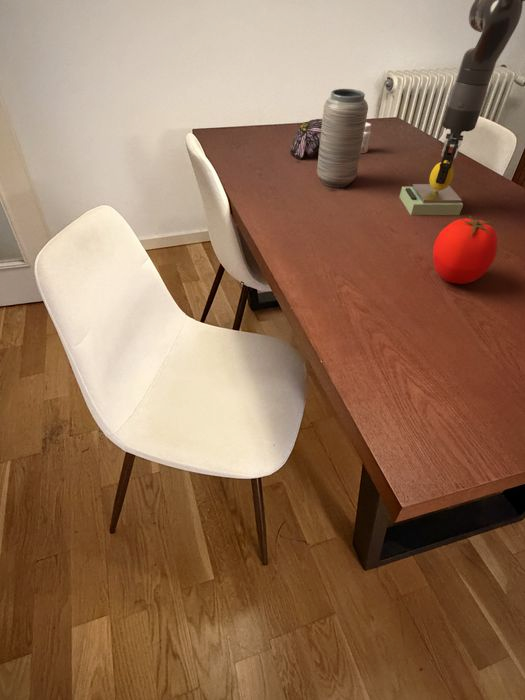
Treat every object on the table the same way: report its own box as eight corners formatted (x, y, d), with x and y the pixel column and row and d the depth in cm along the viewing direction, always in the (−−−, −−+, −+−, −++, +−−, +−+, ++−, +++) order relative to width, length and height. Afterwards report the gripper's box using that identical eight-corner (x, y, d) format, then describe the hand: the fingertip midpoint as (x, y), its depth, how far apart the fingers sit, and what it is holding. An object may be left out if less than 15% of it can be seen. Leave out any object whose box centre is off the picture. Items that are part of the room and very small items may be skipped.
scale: (444, 197, 113) (448, 184, 111) (459, 215, 106) (464, 202, 103) (399, 197, 113) (402, 184, 110) (410, 215, 105) (414, 202, 103)
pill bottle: (359, 147, 141) (364, 121, 135) (370, 151, 138) (375, 124, 133) (350, 150, 139) (354, 123, 133) (361, 154, 136) (366, 127, 130)
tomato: (491, 278, 85) (520, 220, 76) (464, 302, 79) (492, 243, 70) (441, 256, 91) (462, 200, 82) (412, 278, 85) (432, 219, 76)
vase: (312, 186, 117) (321, 96, 101) (320, 171, 125) (329, 85, 109) (351, 192, 115) (367, 100, 98) (357, 176, 123) (373, 89, 106)
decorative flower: (287, 115, 134) (331, 103, 129) (296, 146, 144) (337, 136, 138) (282, 141, 127) (329, 130, 122) (292, 172, 137) (336, 163, 131)
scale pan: (447, 186, 111) (448, 184, 110) (460, 203, 104) (462, 200, 103) (411, 186, 111) (412, 184, 110) (422, 203, 103) (423, 200, 103)
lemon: (426, 195, 105) (435, 163, 99) (425, 186, 109) (434, 155, 103) (448, 197, 104) (459, 165, 99) (446, 188, 108) (457, 157, 102)
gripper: (481, 115, 87) (453, 192, 98) (483, 99, 96) (458, 171, 108) (445, 110, 89) (422, 186, 100) (450, 95, 98) (429, 166, 110)
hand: (441, 178), depth 104 cm, fingers closed on lemon, 5 cm apart
